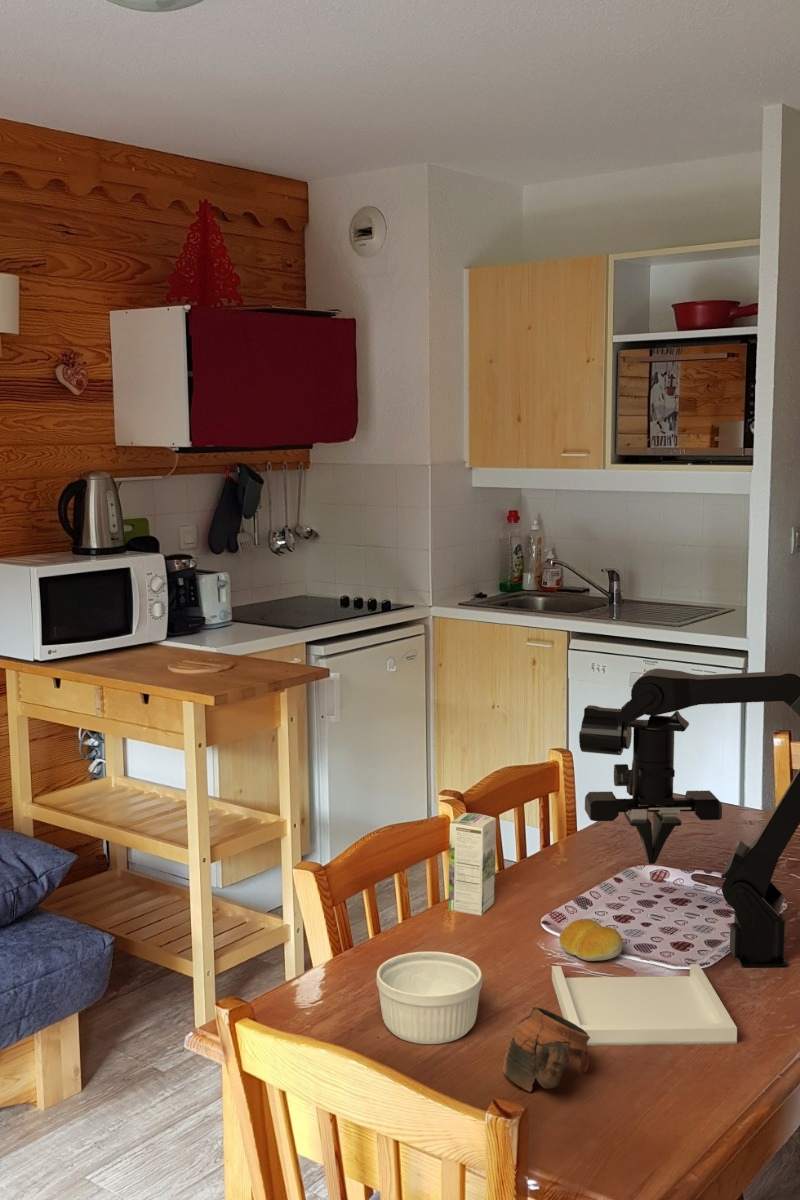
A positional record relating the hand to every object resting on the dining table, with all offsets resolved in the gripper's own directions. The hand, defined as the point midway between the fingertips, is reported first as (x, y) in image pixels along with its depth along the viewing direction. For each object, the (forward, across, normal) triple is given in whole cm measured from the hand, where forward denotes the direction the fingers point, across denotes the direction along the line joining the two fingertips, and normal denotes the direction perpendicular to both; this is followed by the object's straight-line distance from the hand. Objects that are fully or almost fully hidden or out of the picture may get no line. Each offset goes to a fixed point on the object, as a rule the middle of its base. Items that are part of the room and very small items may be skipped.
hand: (651, 863), depth 173 cm
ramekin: (+12, +33, +24) cm, 43 cm away
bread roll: (+12, +6, +4) cm, 14 cm away
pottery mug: (+13, +21, +39) cm, 46 cm away
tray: (+12, +6, +21) cm, 25 cm away
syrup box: (+12, +25, -14) cm, 31 cm away
